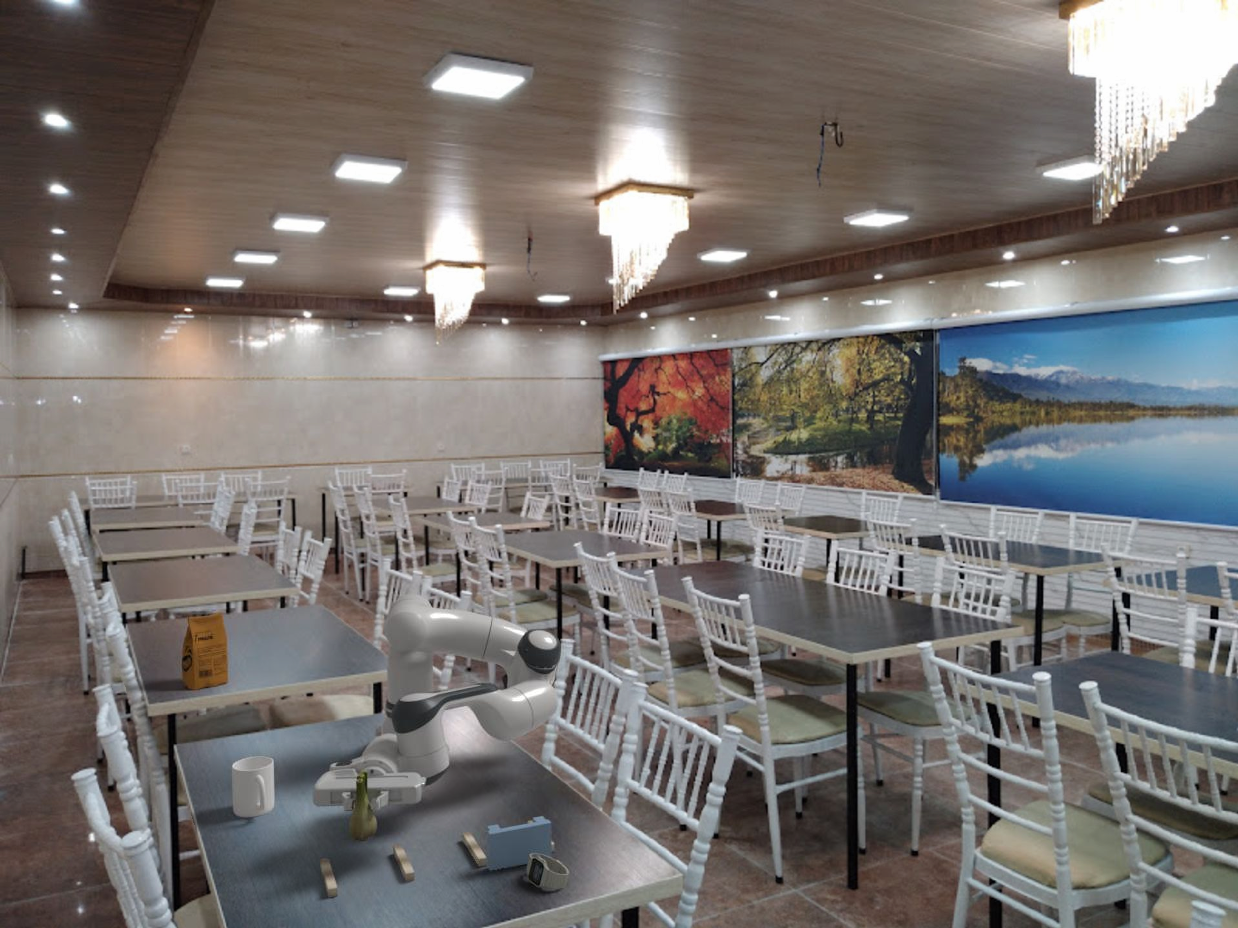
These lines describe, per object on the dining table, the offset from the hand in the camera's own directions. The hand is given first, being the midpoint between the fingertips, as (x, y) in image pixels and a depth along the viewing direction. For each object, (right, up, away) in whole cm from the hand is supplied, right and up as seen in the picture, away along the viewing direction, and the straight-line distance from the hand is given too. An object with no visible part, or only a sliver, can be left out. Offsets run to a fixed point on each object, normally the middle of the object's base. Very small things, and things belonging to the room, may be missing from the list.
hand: (361, 806), depth 176 cm
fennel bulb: (0, -6, +1) cm, 6 cm away
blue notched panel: (+29, -12, +3) cm, 31 cm away
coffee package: (-81, -6, +121) cm, 146 cm away
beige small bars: (+14, -12, +5) cm, 18 cm away
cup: (-29, -11, +26) cm, 41 cm away
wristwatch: (+35, -12, -3) cm, 37 cm away
